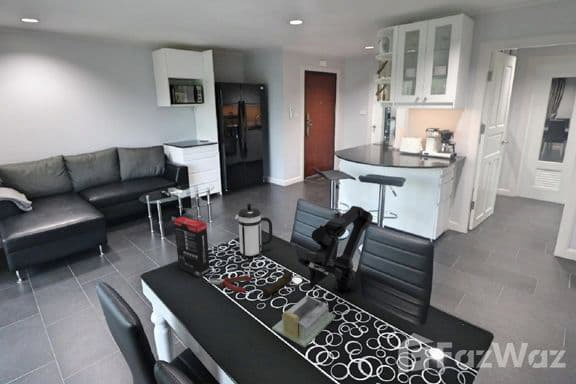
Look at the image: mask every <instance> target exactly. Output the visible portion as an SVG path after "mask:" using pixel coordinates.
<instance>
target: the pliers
mask: <svg viewBox="0 0 576 384" xmlns="http://www.w3.org/2000/svg"><path fill="white" fill-rule="evenodd" d="M243 280H244V281H246V282H253V278H252V277H251V276H246V275H241V276H235V277H229V278H228V277H226V276H225V278H224V279H223V278H209V280H208V281H206V282H207V283H209V284H213V285H220V287H222V288H224V287H225V288H227V289H229V290H231V291H233V292H235V293H246V292H247V289H246V287H241V286H235V285H234V284H232V283H236V282H241V281H243ZM244 281H243V282H244ZM229 282H230V283H229Z"/></svg>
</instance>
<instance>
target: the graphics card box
mask: <svg viewBox="0 0 576 384" xmlns="http://www.w3.org/2000/svg"><path fill="white" fill-rule="evenodd" d="M173 225H174V235H175V243H176V244H175V245H176V253H177V261H178V268H179V269H180V270H183V271H185V272H187V273H190V274H192V275H194V276H197V277H199V278H202V277H205V275H207V274H209V273H210V272H211V268H210V266H211V265H210V255H209V254H210V253H209V241H208V226H207V223H206V222H203V221H200V220H196V219H192V218H188V217H186V216H180V217H177V218H174V219H173Z"/></svg>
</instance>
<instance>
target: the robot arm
mask: <svg viewBox="0 0 576 384" xmlns="http://www.w3.org/2000/svg"><path fill="white" fill-rule="evenodd" d="M373 218H374V216H373V214H372V213H371V211H370V212H369V211H367V210H366V209H364V208H363V207H361V206H358V205H357V206H356V205H351V207H350V208H349V209H348V210H347V211H345V212H344V213H343V214H342V215H340V216H339V217H337V218H336V217H335V218H332V219H330V220H328V221H327V222H326V223H325V224H324V225H320V226H319V227H316V228H315V229H314V230H313V231H312V233H311V239H312V240H313V241H314V242H315V243H316V244H317V245H318V246H319V248H316V250H315V251H306V252H305V256H300V257H299V258H298V260H297V262H298V263H299V264H301V265H303V267H306V268H307V269H309V270H308V271H309V288H311V289H314V288H315V287H316V286H317V285H318V284H319V283H320V282H321V281H322V280H324V279H325V278H326V277H329V274H331V275H333V277H334V278H336V279H335V283H334V285H333V286H334V288H335V289H336V290H337V291H338V293H340V294H344V293H348V292H352V291H354V289H353V288H352V281H354V280H355V278H356V271H354V263H353V259H354V256H355V254H356V250H357V249H358V245H359V243H360V240H361V238H362V236H363V232H364V231H366V229H368V228H369V227H370V225H371V223H372V222H373ZM351 224H352V226H353V227H352V228H351V232H350V234H349V236H348V239H347V242H346V244H345V247H344V250H343V251H342V254H341V255H339V256H336V258H335V259H334V256H333V254H334V253H335V249H336V246H337V245H339V244H340V243H339V240H338V238H341V237H343V236H344V234H345V233H346V232H347V227H348V226H350V225H351ZM331 259H332V260H333V259H334V263H333V264H332V265H330V262H331Z"/></svg>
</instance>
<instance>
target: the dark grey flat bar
mask: <svg viewBox="0 0 576 384" xmlns="http://www.w3.org/2000/svg"><path fill="white" fill-rule="evenodd" d="M318 304H319V302H318V301H316V300H314V299H311V298H310V299H309V300H308V301H306V302H305V303H304V304H303V305H302V306H300V307H299V308H298V309H297V310H295V311H294V312H293V314H295V315H297V316H298V317H299V320H298V321H300V320H301V319H302V318H303V317H304V316H305V315H307V314H308V313H309V312H310V311H311V310H312V309H313V308H315V307H316V306H317V305H318Z"/></svg>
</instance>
